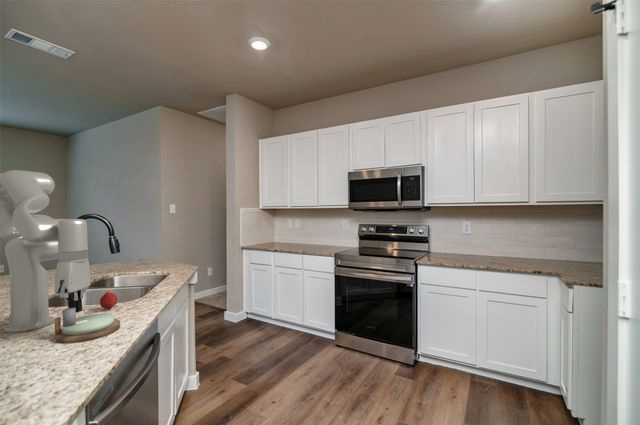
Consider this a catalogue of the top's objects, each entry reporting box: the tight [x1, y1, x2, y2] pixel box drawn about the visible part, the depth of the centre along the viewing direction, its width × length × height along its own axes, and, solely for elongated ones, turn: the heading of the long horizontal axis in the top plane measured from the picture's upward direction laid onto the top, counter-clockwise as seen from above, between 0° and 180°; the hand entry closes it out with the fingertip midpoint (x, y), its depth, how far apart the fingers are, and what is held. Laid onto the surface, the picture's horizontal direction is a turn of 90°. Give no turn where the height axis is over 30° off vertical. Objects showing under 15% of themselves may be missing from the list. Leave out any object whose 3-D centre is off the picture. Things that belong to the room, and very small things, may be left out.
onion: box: [99, 289, 118, 311], centre depth 121 cm, size 6×6×8 cm
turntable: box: [61, 308, 115, 335], centre depth 98 cm, size 14×14×7 cm
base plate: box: [54, 316, 121, 344], centre depth 98 cm, size 17×17×6 cm
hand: (75, 311), depth 98 cm, fingers closed
